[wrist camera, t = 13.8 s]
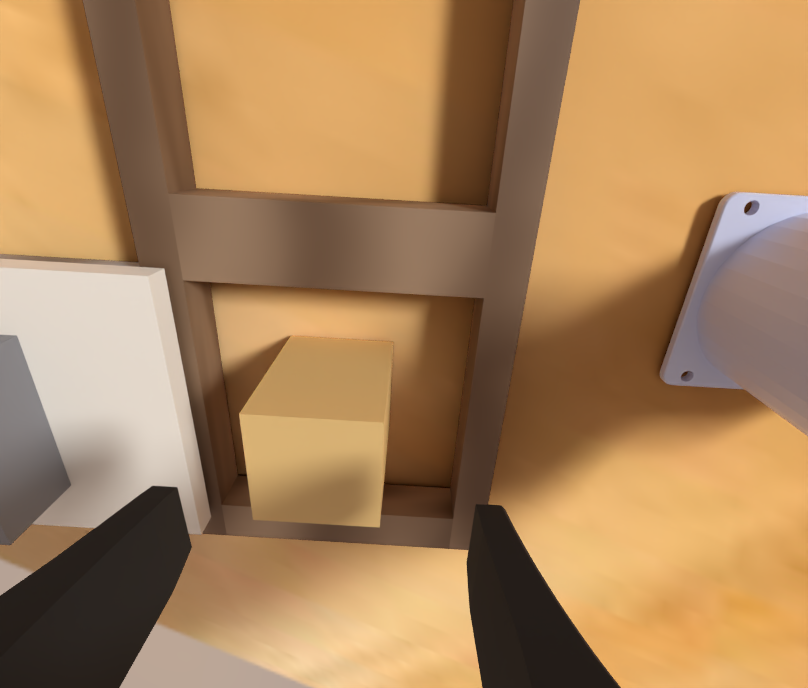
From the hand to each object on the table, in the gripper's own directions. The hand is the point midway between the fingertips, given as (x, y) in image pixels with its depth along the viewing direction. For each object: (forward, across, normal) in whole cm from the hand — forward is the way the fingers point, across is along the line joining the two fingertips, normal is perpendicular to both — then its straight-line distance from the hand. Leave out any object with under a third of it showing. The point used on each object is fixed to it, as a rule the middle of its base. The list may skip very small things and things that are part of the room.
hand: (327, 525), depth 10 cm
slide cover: (+7, +13, +2) cm, 15 cm away
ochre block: (+9, +1, +2) cm, 10 cm away
